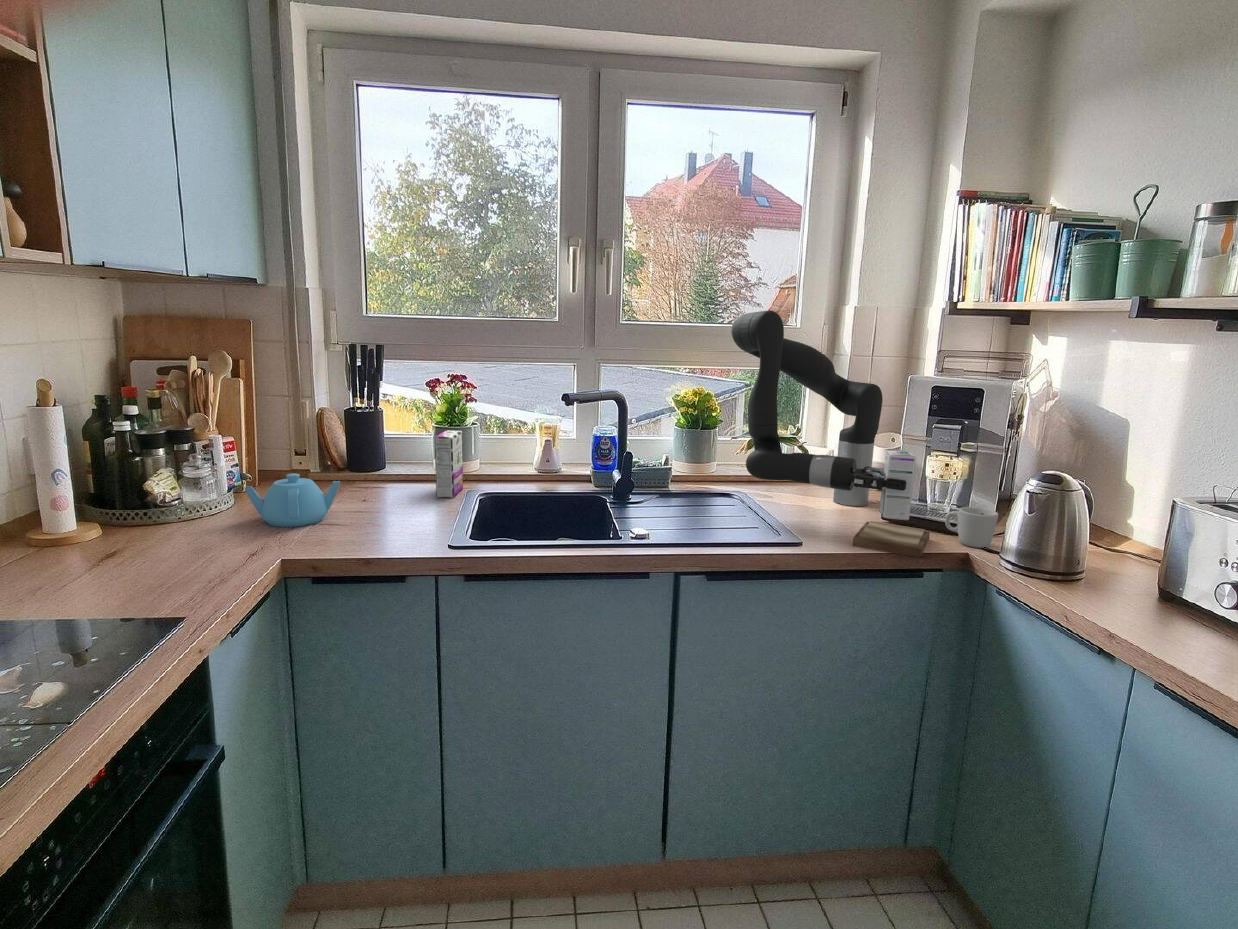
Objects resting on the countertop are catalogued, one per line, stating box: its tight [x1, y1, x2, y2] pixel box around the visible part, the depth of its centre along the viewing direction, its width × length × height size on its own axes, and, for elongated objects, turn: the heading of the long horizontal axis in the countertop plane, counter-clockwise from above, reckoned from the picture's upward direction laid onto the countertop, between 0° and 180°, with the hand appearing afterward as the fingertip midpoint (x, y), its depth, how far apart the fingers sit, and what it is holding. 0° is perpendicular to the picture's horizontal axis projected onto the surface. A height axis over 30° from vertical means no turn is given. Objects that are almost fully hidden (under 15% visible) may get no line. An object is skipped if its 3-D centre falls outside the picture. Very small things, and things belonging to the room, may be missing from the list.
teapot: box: [243, 473, 341, 528], centre depth 161 cm, size 15×15×11 cm
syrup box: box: [878, 450, 917, 521], centre depth 158 cm, size 6×6×14 cm
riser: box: [852, 520, 931, 559], centre depth 160 cm, size 16×14×2 cm
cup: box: [944, 506, 999, 549], centre depth 161 cm, size 11×8×8 cm
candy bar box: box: [434, 429, 464, 499], centre depth 191 cm, size 11×5×16 cm, turn 179°
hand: (908, 482), depth 157 cm, fingers closed on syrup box, 7 cm apart
